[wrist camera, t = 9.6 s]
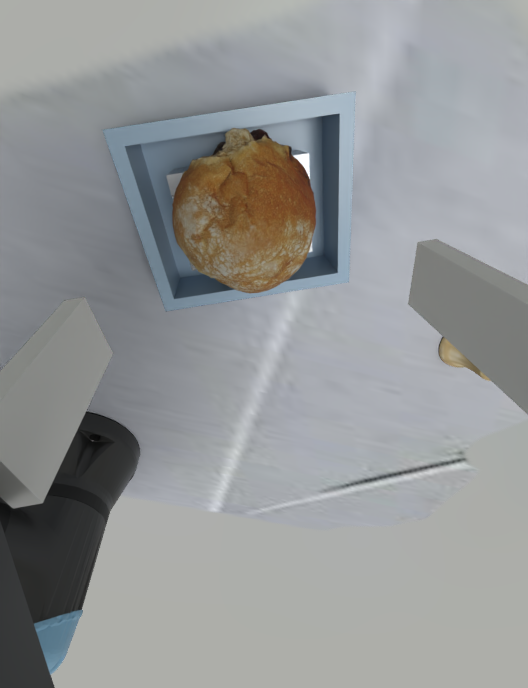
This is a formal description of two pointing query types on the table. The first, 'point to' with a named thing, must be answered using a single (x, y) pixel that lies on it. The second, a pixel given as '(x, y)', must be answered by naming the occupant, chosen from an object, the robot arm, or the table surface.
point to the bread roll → (245, 212)
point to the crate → (201, 140)
